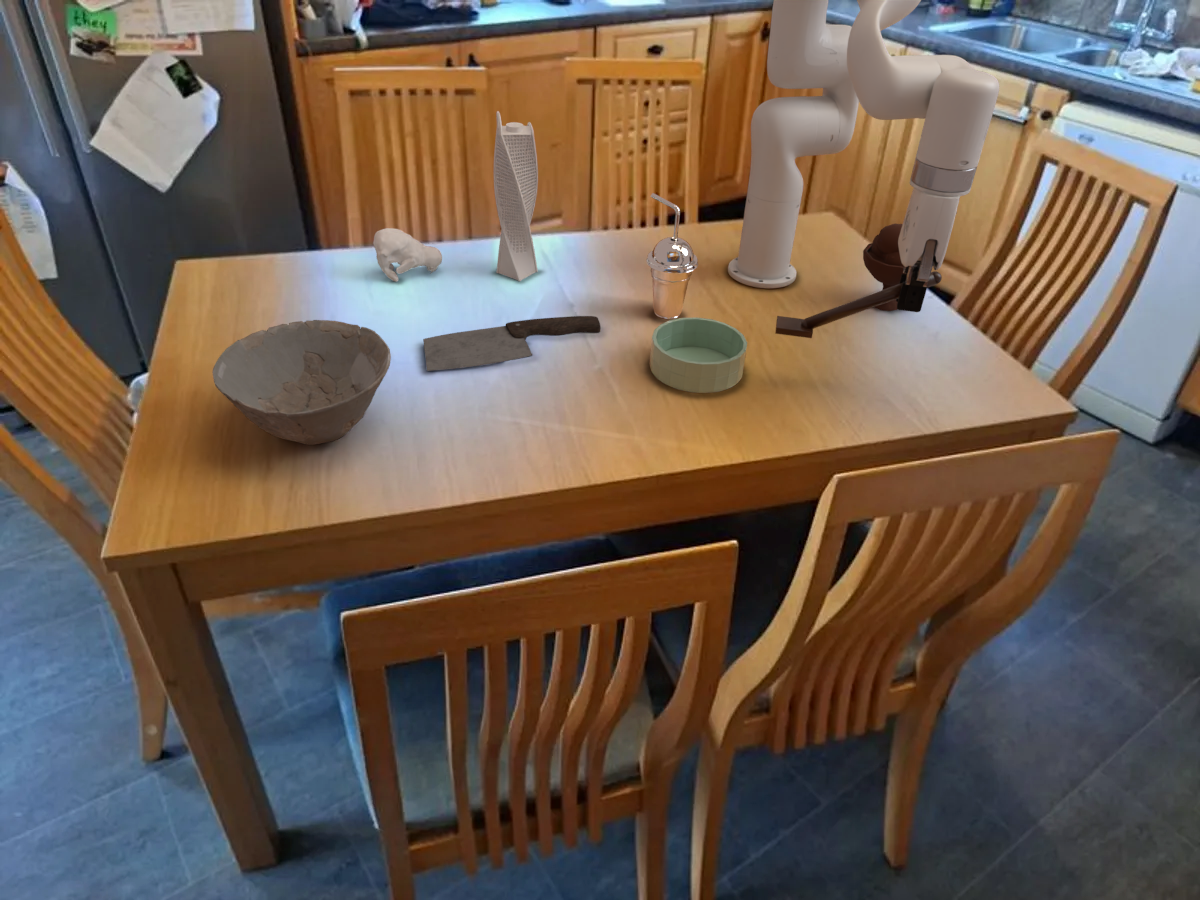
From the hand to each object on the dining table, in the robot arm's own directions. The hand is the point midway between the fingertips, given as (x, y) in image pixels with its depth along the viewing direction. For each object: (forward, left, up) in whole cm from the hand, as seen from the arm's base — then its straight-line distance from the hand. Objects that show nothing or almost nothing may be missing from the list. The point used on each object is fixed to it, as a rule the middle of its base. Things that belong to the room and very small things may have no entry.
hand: (907, 305), depth 123 cm
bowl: (0, -28, -15) cm, 32 cm away
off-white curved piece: (-20, -82, -16) cm, 86 cm away
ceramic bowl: (+28, -77, -16) cm, 83 cm away
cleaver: (0, -57, -16) cm, 59 cm away
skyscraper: (-26, -64, -16) cm, 71 cm away
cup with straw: (-17, -35, -16) cm, 42 cm away
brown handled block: (0, -7, -6) cm, 9 cm away
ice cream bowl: (-32, +2, -16) cm, 36 cm away
